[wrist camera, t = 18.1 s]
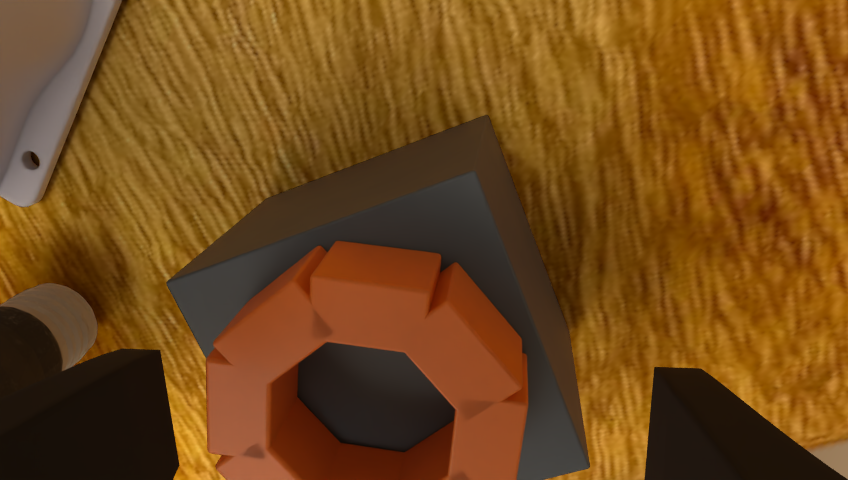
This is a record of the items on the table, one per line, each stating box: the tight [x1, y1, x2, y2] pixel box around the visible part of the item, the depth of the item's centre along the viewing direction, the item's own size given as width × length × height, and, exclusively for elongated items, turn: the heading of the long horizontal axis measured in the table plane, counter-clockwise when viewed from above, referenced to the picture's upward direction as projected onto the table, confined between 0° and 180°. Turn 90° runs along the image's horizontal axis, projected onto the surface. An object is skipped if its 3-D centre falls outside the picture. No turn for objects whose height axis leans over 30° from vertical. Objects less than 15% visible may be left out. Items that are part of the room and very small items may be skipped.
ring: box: [206, 241, 528, 480], centre depth 13 cm, size 6×6×2 cm
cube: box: [167, 115, 590, 480], centre depth 17 cm, size 6×6×6 cm
